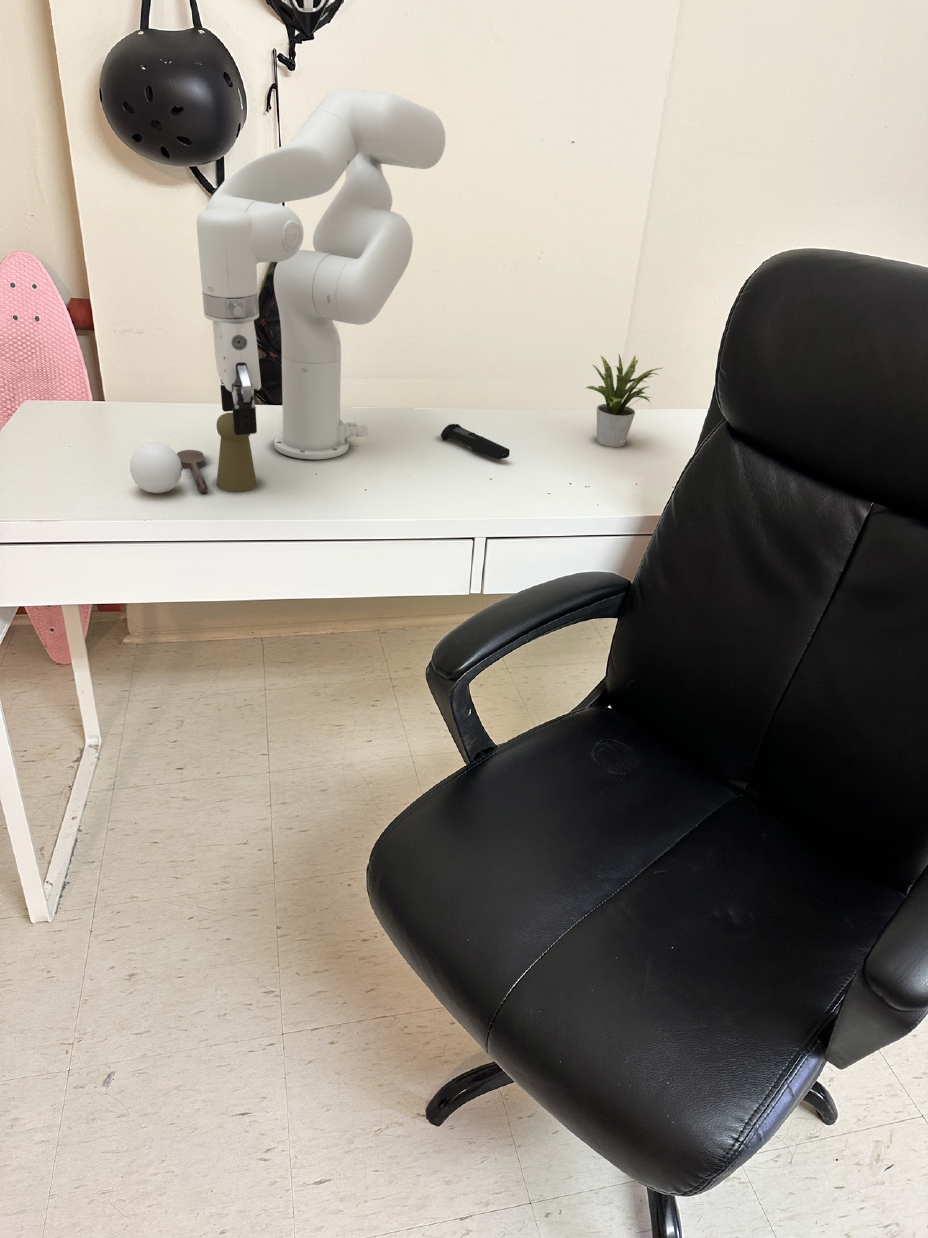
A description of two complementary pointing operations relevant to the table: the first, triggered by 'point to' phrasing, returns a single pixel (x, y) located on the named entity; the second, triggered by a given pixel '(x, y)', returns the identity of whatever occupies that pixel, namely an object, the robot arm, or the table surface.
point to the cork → (234, 458)
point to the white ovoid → (155, 468)
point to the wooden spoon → (194, 466)
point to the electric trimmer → (474, 442)
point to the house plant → (617, 403)
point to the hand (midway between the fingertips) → (239, 421)
